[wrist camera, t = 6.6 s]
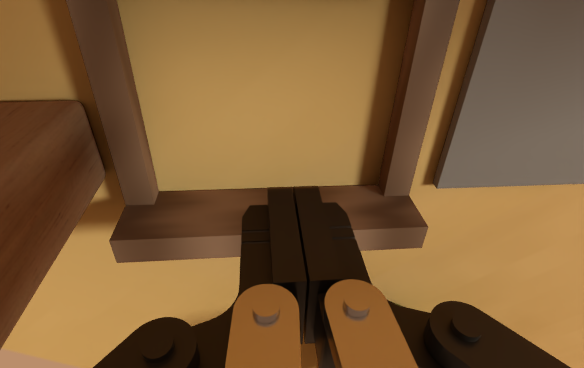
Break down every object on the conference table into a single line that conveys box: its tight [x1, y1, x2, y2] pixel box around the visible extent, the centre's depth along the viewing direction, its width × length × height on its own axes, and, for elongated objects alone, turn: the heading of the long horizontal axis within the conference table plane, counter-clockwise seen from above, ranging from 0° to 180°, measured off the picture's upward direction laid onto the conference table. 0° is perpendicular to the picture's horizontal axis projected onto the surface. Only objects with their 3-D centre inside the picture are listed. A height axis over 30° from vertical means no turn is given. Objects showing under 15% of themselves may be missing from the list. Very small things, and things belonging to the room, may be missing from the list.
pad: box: [433, 0, 584, 189], centre depth 19 cm, size 10×11×1 cm
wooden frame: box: [66, 0, 460, 263], centre depth 17 cm, size 16×14×4 cm
